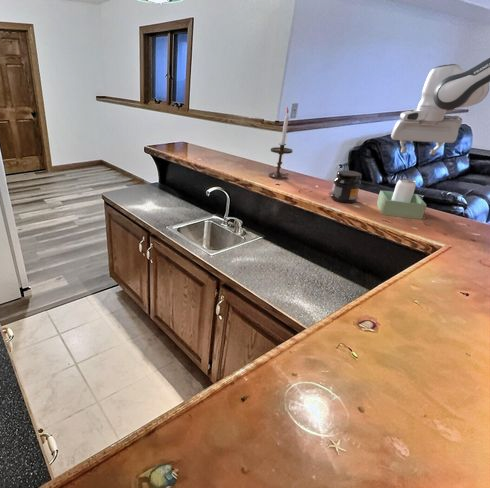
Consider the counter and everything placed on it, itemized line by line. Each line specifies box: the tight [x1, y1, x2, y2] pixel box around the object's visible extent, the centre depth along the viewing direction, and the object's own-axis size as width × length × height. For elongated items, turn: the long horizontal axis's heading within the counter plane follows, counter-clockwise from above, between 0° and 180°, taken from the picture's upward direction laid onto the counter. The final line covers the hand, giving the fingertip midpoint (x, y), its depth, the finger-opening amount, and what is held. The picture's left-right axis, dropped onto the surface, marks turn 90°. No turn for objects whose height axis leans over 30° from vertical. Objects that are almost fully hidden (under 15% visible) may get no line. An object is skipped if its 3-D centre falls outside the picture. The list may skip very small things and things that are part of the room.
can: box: [391, 177, 417, 202], centre depth 139 cm, size 6×6×12 cm
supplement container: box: [330, 169, 362, 204], centre depth 152 cm, size 10×10×12 cm
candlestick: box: [268, 106, 293, 179], centre depth 179 cm, size 11×11×35 cm
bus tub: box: [375, 190, 428, 220], centre depth 141 cm, size 14×14×6 cm
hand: (417, 153), depth 132 cm, fingers open, 8 cm apart
